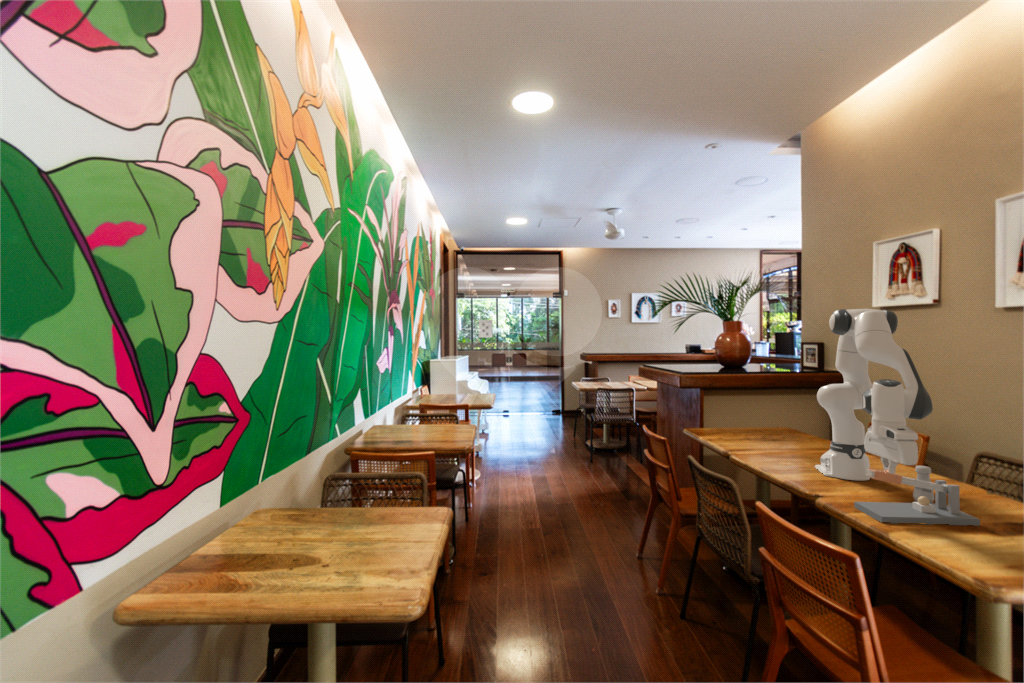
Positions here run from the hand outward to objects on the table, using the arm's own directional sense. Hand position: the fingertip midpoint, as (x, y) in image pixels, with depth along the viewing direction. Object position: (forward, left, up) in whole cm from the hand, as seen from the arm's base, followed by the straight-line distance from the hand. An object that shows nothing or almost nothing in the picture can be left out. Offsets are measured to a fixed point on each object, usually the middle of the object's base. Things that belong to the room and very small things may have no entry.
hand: (889, 472), depth 154 cm
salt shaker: (-13, +20, -14) cm, 28 cm away
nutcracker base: (0, +8, -14) cm, 16 cm away
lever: (0, +6, -5) cm, 8 cm away
